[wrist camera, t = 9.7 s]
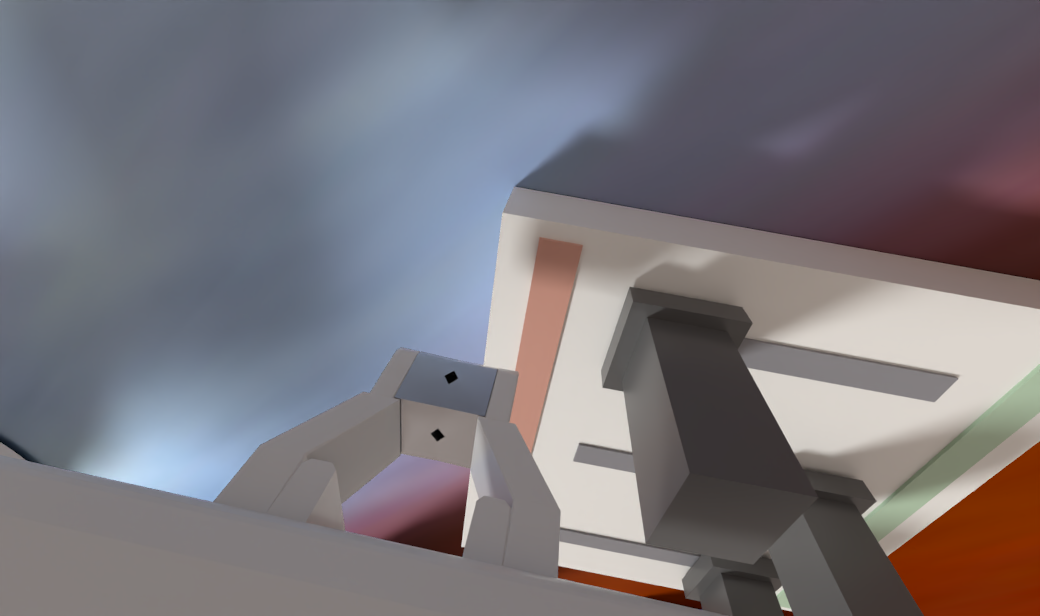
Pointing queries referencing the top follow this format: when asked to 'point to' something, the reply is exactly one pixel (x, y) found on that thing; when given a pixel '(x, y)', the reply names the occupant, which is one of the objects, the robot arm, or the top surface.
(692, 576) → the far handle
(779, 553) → the middle handle
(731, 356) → the handle
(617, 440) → the panel
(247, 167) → the top surface
